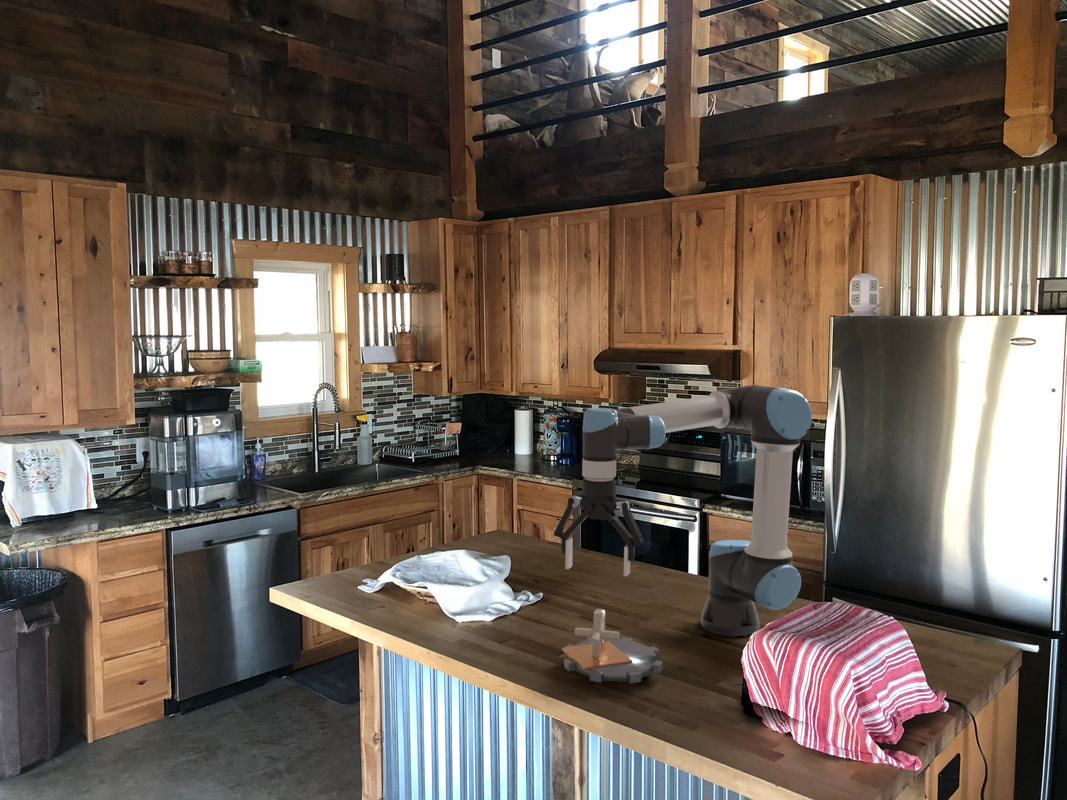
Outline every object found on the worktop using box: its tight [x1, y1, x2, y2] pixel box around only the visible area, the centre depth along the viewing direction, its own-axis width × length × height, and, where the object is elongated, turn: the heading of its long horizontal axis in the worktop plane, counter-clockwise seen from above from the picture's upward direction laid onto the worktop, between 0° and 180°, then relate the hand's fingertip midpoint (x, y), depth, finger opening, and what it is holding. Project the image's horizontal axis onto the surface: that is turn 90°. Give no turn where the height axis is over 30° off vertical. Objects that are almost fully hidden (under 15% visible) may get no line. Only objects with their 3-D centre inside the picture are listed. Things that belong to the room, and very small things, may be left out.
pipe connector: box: [574, 610, 620, 657], centre depth 193 cm, size 10×10×10 cm
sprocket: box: [561, 608, 664, 684], centre depth 196 cm, size 23×23×10 cm
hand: (597, 571), depth 192 cm, fingers open, 13 cm apart
